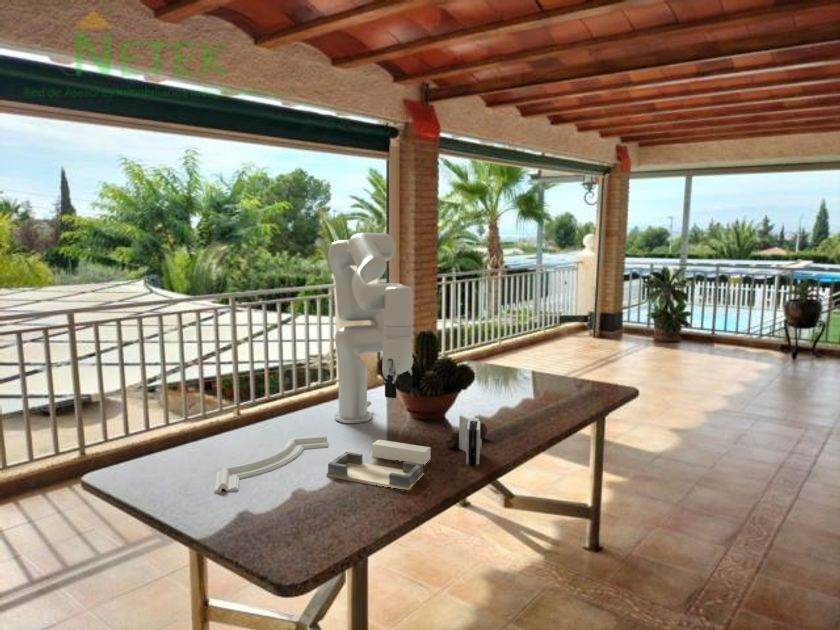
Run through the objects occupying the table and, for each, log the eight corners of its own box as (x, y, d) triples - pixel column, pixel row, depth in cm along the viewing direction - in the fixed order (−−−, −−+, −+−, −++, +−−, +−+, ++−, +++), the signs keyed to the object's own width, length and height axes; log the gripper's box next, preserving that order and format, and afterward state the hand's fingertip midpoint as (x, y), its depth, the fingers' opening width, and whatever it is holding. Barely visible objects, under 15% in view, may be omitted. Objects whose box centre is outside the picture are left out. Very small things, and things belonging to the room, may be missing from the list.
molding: (226, 499, 141) (226, 487, 140) (191, 487, 147) (191, 476, 146) (336, 445, 177) (336, 436, 177) (304, 437, 183) (304, 428, 183)
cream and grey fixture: (345, 462, 162) (345, 451, 161) (423, 476, 153) (424, 463, 153) (326, 476, 153) (326, 464, 152) (408, 491, 144) (408, 478, 144)
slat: (378, 452, 170) (378, 439, 170) (430, 461, 164) (430, 447, 164) (372, 457, 167) (372, 443, 166) (424, 466, 161) (425, 452, 160)
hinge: (458, 448, 174) (459, 415, 173) (476, 448, 174) (477, 414, 173) (466, 466, 160) (467, 430, 159) (486, 466, 161) (487, 430, 159)
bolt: (446, 454, 174) (478, 440, 184) (458, 450, 170) (490, 436, 181) (439, 435, 175) (471, 423, 186) (450, 431, 172) (482, 418, 182)
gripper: (399, 326, 170) (399, 384, 172) (371, 335, 154) (371, 399, 156) (423, 328, 167) (423, 387, 169) (397, 337, 151) (397, 402, 153)
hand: (398, 393), depth 163 cm, fingers open, 9 cm apart
